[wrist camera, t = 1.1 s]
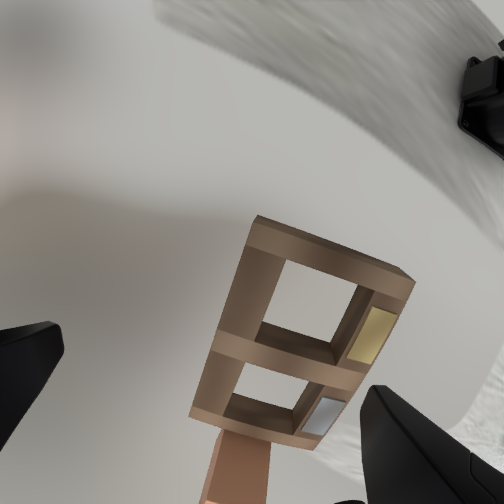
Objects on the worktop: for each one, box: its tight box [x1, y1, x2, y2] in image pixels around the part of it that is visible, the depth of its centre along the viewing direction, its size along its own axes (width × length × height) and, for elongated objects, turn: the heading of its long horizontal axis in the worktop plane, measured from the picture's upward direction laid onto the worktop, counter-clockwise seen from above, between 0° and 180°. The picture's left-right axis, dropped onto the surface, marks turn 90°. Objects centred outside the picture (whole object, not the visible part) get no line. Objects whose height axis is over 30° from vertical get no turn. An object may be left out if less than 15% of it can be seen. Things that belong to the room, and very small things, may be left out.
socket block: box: [189, 215, 416, 451], centre depth 19 cm, size 10×15×3 cm
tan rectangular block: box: [199, 428, 271, 504], centre depth 19 cm, size 4×4×9 cm
